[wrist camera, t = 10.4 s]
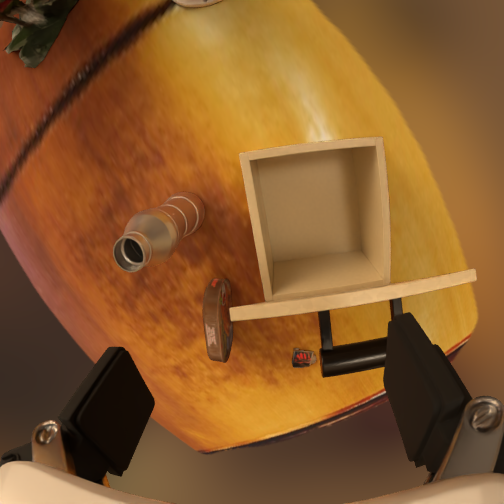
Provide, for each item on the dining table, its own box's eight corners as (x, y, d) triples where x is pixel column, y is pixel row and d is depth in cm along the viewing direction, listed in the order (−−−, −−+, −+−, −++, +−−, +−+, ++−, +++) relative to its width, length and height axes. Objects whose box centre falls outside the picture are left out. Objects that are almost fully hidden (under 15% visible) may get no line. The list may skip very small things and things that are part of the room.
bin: (248, 152, 41) (238, 153, 29) (354, 139, 38) (382, 136, 27) (268, 265, 46) (265, 303, 35) (365, 252, 44) (390, 285, 33)
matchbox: (293, 368, 53) (293, 369, 53) (289, 348, 52) (289, 350, 51) (316, 364, 53) (316, 366, 52) (314, 345, 51) (314, 346, 51)
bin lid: (229, 307, 16) (239, 396, 15) (475, 268, 14) (481, 348, 13) (265, 302, 35) (269, 345, 34) (391, 283, 33) (395, 326, 32)
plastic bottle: (216, 206, 44) (172, 249, 25) (191, 238, 46) (139, 298, 27) (184, 181, 43) (119, 206, 24) (161, 214, 45) (92, 259, 26)
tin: (233, 343, 52) (227, 373, 44) (217, 342, 53) (208, 371, 45) (230, 269, 47) (221, 294, 39) (211, 269, 47) (199, 293, 40)
